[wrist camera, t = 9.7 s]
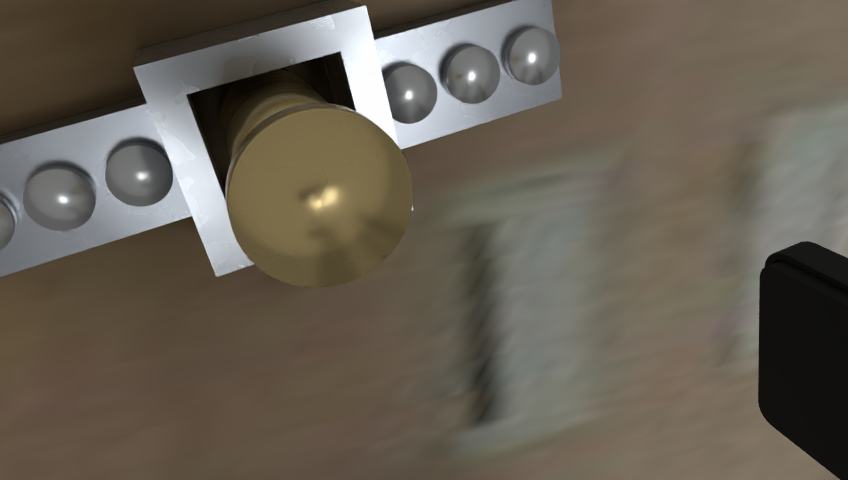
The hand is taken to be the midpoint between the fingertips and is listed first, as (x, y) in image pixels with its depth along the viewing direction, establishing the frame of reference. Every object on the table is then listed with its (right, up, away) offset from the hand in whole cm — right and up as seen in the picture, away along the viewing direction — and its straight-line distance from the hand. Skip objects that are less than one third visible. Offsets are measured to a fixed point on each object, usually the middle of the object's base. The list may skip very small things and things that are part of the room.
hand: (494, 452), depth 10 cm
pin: (-7, +8, +17) cm, 20 cm away
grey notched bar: (-7, +8, +17) cm, 20 cm away
